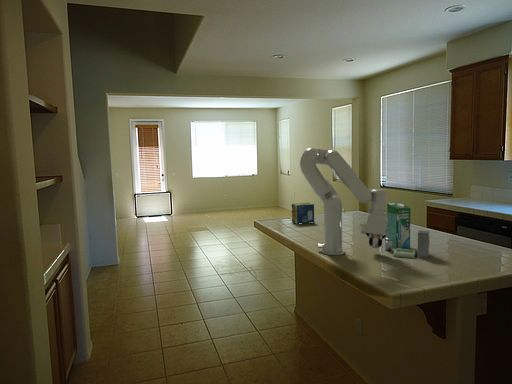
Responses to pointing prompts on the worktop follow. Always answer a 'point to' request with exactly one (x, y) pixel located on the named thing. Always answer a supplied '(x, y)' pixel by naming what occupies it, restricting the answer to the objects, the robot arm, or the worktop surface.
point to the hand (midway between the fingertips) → (375, 245)
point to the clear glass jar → (388, 243)
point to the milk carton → (398, 224)
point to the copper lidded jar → (375, 240)
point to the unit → (423, 244)
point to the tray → (404, 253)
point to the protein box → (302, 213)
